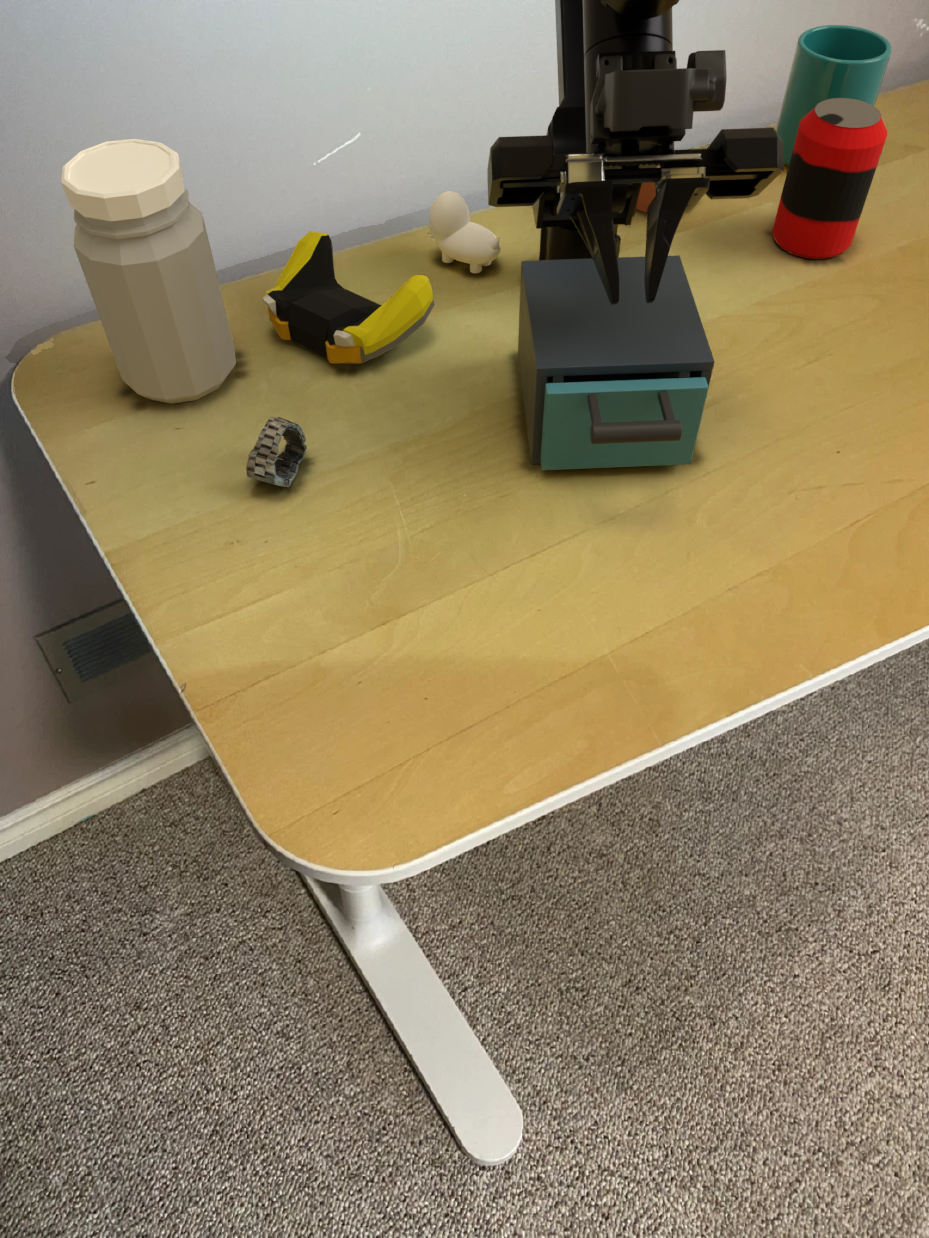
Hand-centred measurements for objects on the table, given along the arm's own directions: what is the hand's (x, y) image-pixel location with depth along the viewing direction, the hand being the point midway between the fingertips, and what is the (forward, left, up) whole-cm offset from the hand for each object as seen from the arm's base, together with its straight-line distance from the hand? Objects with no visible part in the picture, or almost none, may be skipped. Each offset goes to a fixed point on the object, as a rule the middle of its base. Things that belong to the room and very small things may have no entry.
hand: (632, 302), depth 65 cm
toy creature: (-26, +15, -14) cm, 33 cm away
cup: (-8, +55, -14) cm, 57 cm away
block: (-16, +35, -14) cm, 41 cm away
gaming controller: (-28, 0, -14) cm, 31 cm away
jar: (-35, -13, -14) cm, 40 cm away
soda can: (-1, +38, -14) cm, 40 cm away
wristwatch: (-19, -17, -14) cm, 29 cm away
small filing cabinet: (-4, +5, -14) cm, 15 cm away
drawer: (-1, +1, -13) cm, 13 cm away
